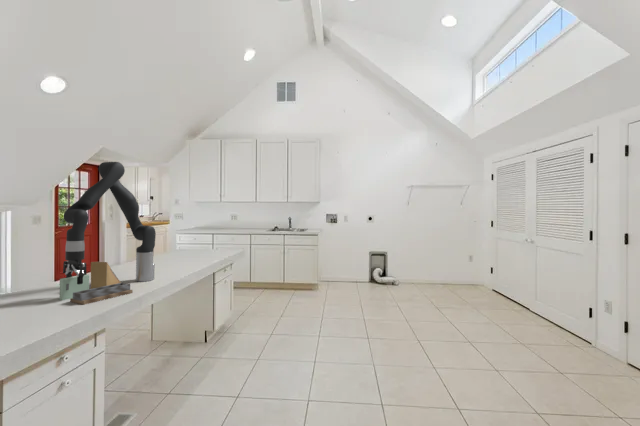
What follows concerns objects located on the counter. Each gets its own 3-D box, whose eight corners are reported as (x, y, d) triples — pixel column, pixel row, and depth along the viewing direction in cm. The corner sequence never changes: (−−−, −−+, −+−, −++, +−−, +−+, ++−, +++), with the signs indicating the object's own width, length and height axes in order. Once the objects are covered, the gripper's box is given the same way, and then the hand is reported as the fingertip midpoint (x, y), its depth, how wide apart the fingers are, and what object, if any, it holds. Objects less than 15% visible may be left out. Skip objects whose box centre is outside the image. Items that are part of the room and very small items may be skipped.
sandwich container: (122, 283, 193) (122, 257, 193) (106, 290, 178) (107, 262, 178) (107, 283, 193) (107, 257, 193) (90, 289, 178) (90, 261, 178)
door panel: (85, 294, 169) (86, 274, 168) (89, 294, 168) (89, 274, 167) (59, 299, 158) (59, 278, 157) (62, 300, 157) (63, 279, 156)
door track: (119, 290, 176) (119, 282, 176) (132, 292, 172) (132, 284, 172) (70, 301, 154) (70, 292, 154) (84, 304, 150) (84, 294, 150)
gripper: (92, 250, 163) (91, 283, 163) (74, 248, 169) (73, 280, 169) (76, 251, 156) (75, 286, 156) (57, 249, 162) (56, 283, 162)
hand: (74, 283), depth 162 cm, fingers open, 8 cm apart
